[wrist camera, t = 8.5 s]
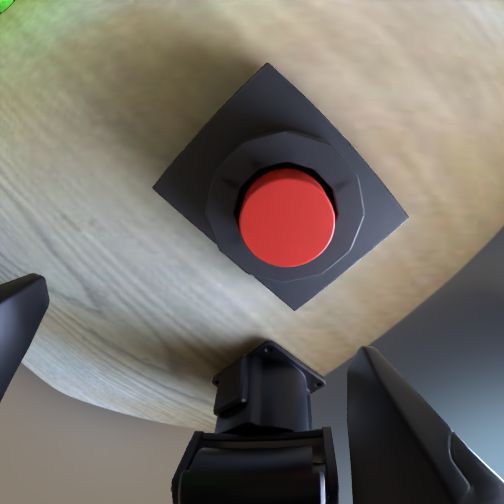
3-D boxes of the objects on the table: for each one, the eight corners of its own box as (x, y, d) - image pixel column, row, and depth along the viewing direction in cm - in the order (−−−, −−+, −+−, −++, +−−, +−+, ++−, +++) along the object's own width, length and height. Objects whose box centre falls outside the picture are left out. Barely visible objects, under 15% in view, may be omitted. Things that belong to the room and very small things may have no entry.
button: (345, 211, 13) (354, 226, 11) (284, 263, 14) (285, 284, 13) (286, 149, 12) (288, 156, 10) (225, 209, 13) (219, 225, 12)
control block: (395, 203, 16) (423, 232, 13) (293, 289, 19) (296, 332, 16) (268, 67, 13) (266, 55, 10) (165, 177, 16) (137, 199, 13)
